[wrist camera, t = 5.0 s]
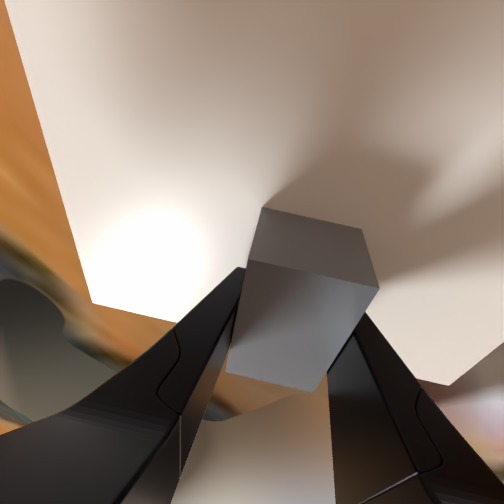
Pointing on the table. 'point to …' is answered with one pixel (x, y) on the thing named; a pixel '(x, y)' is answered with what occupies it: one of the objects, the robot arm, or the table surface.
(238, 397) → the table surface
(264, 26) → the carton lid
